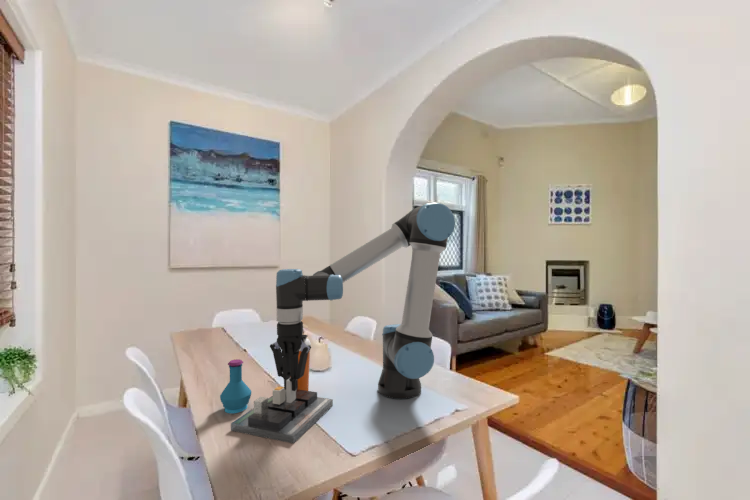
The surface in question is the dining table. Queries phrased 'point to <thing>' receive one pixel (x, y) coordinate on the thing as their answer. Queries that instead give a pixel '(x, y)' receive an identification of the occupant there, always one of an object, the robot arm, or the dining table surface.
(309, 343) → the shaker bottle
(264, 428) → the panel
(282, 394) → the breaker handle
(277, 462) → the dining table surface
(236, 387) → the perfume bottle
